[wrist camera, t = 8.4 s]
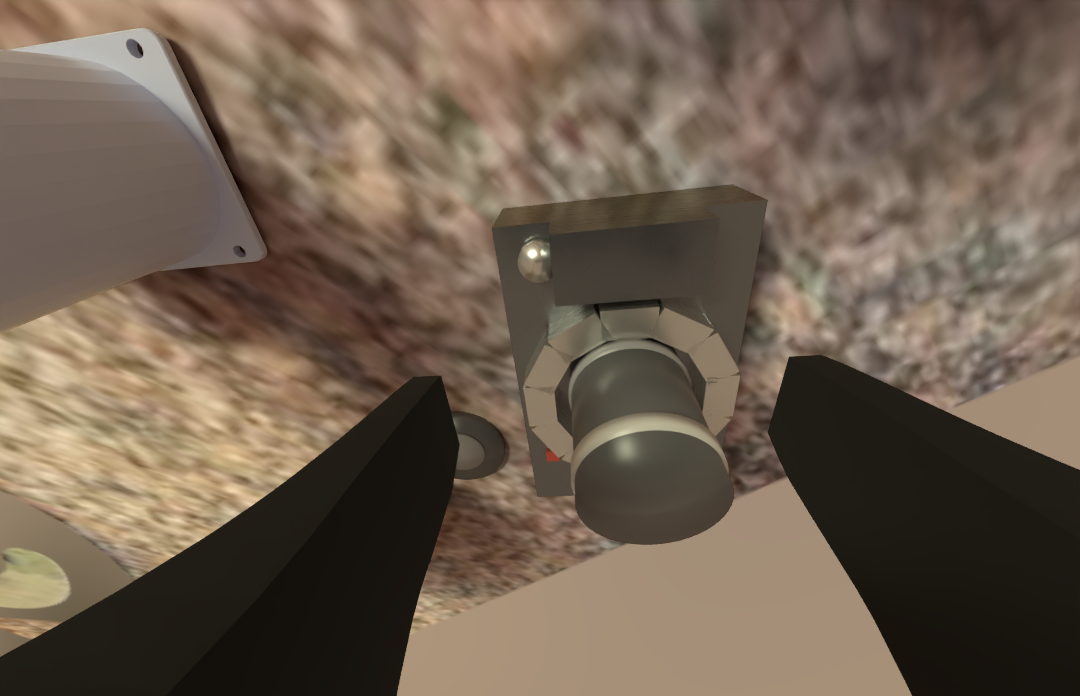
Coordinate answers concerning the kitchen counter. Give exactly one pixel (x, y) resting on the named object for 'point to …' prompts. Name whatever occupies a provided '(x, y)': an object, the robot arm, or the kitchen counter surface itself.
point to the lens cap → (477, 446)
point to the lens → (643, 446)
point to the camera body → (625, 298)
